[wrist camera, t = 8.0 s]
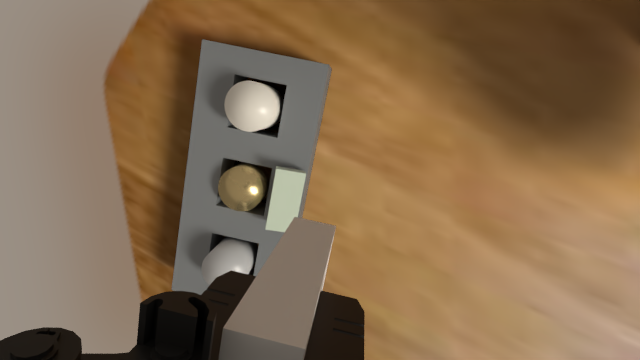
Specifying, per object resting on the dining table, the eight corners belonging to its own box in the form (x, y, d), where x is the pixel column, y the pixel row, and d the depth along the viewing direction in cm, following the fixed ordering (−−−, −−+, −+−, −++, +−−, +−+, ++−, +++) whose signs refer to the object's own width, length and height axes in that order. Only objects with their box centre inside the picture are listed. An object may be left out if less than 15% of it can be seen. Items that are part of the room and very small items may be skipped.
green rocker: (276, 164, 35) (276, 168, 33) (304, 169, 35) (306, 173, 33) (265, 222, 36) (265, 229, 34) (293, 226, 36) (294, 233, 34)
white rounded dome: (223, 228, 39) (204, 245, 34) (261, 236, 39) (248, 255, 34) (217, 264, 40) (198, 286, 35) (255, 273, 40) (241, 296, 35)
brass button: (237, 155, 39) (221, 162, 34) (277, 164, 39) (266, 172, 34) (232, 193, 40) (215, 206, 35) (270, 202, 40) (258, 215, 35)
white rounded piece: (245, 80, 36) (228, 76, 31) (287, 88, 36) (277, 86, 31) (238, 123, 37) (221, 126, 32) (280, 132, 37) (268, 136, 32)
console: (218, 46, 37) (202, 39, 33) (331, 69, 36) (329, 64, 33) (188, 273, 43) (171, 289, 39) (286, 296, 42) (279, 315, 38)
